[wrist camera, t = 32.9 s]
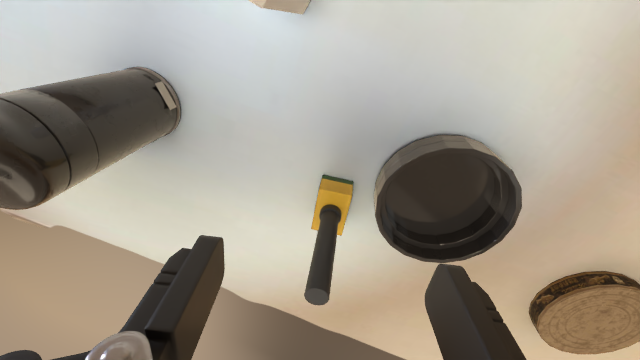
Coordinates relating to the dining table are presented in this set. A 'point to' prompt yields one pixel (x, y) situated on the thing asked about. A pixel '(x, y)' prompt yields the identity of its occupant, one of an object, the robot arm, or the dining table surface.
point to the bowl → (446, 199)
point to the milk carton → (283, 5)
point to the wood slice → (588, 313)
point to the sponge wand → (327, 235)
